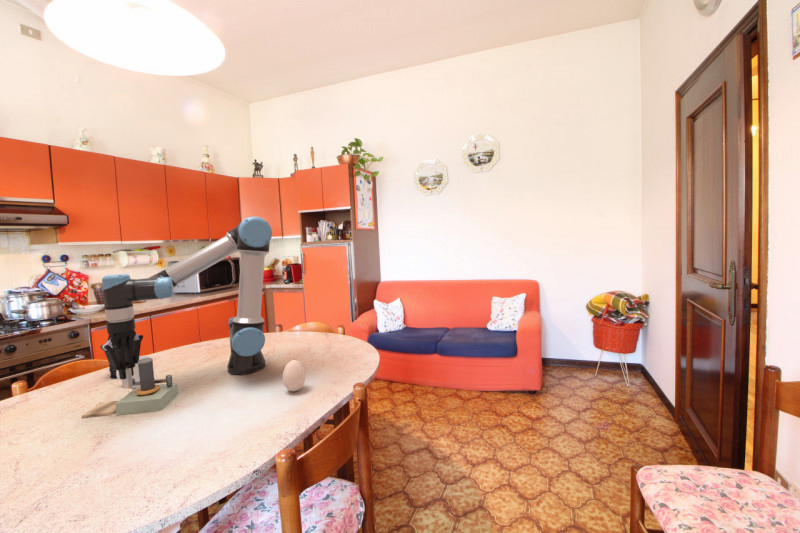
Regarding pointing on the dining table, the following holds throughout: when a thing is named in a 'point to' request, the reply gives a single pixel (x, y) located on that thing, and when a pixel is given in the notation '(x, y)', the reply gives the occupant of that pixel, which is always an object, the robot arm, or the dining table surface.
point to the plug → (146, 377)
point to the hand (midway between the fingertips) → (127, 386)
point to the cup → (136, 372)
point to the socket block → (146, 400)
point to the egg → (294, 375)
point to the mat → (101, 409)
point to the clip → (158, 381)
